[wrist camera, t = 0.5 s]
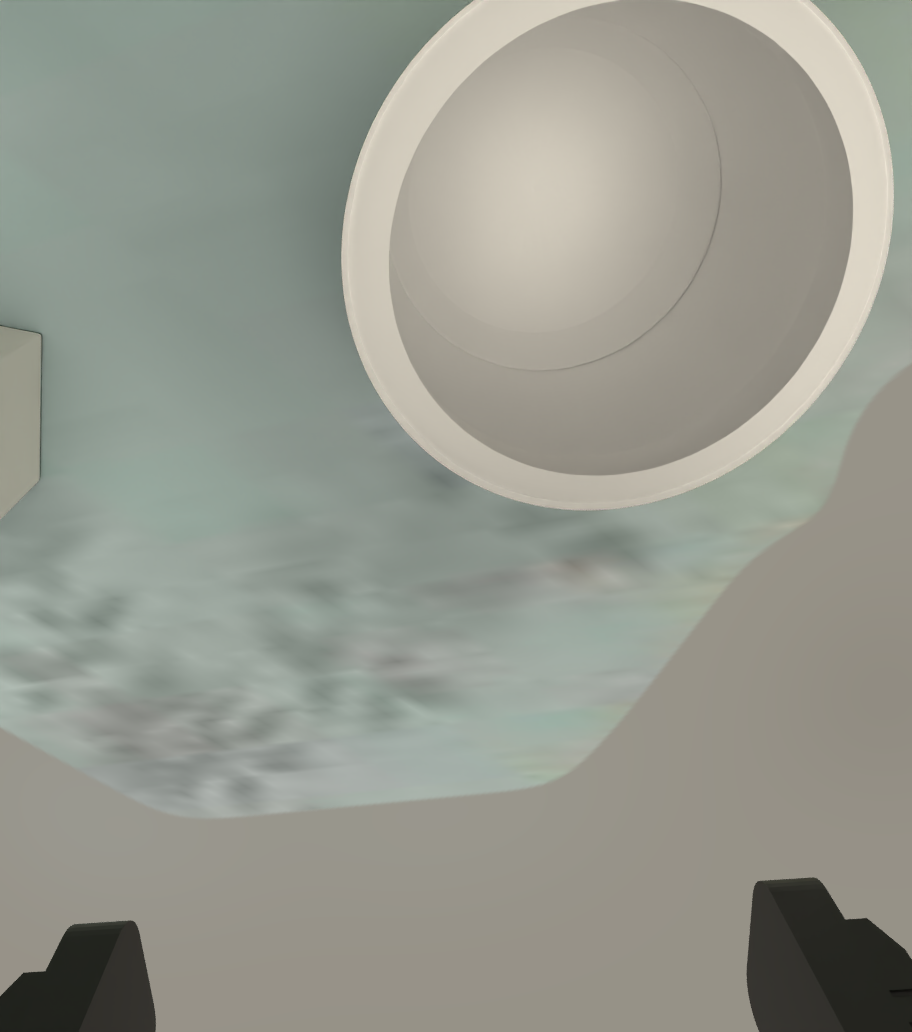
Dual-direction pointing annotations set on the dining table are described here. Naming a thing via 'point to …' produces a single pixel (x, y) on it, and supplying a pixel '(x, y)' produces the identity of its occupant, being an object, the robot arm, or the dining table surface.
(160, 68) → the dining table surface
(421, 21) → the dining table surface
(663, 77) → the jar
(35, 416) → the milk
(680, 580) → the dining table surface
